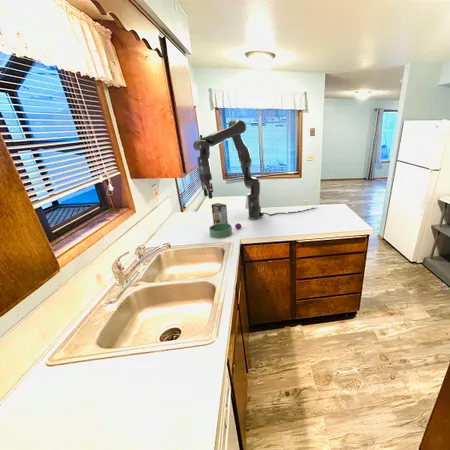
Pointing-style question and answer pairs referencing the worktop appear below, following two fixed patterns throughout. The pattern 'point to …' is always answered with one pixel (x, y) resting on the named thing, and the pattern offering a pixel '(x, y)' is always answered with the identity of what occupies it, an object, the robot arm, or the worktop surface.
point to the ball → (238, 226)
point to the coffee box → (219, 213)
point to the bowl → (220, 230)
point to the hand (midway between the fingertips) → (208, 197)
